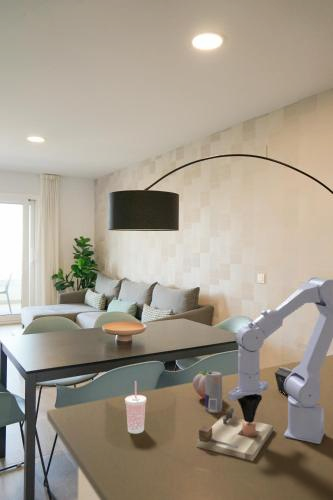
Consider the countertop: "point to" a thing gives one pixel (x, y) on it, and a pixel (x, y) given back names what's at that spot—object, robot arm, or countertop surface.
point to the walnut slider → (205, 433)
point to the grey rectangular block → (229, 414)
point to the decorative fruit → (200, 383)
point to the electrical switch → (282, 377)
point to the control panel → (236, 438)
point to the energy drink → (213, 391)
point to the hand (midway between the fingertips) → (248, 421)
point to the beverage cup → (135, 412)
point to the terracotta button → (248, 429)
